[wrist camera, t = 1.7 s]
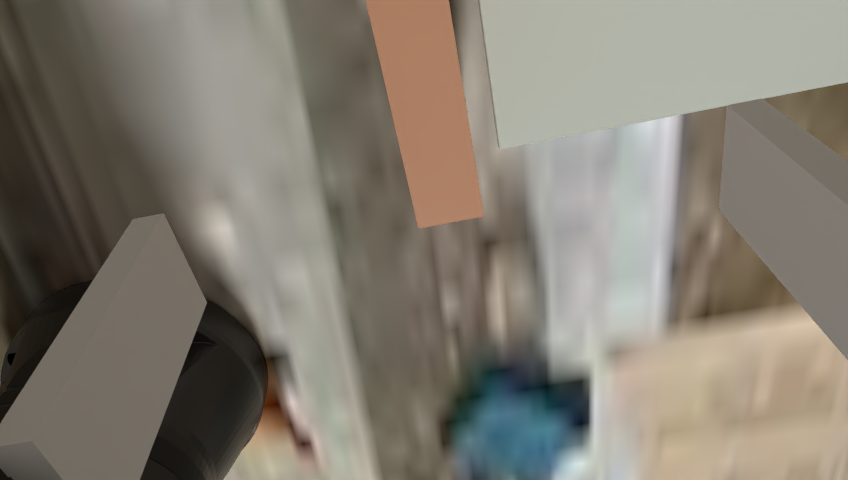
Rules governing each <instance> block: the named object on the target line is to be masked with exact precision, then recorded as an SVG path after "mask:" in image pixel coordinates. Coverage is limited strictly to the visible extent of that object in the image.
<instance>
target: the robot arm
mask: <svg viewBox="0 0 848 480" xmlns="http://www.w3.org/2000/svg"><path fill="white" fill-rule="evenodd" d="M719 210H720V212H721V213H722V214H723V215H724V216H725V217H726V219H727V220H728V221H729V222H730V223H731V224H732V226H733V227H734V228H735V229H736V230H737V231H738V233H739V234H740V235H741V236H742V237H743V238H744V240H745V241H746V242H747V243H748V244H749V245H750V247H751V248H752V249H753V250H754V251H755V252H756V254H757V255H758V256H759V257H760V258H761V259H762V261H763V262H764V263H765V264H766V265H767V266H768V268H769V269H770V270H771V271H772V272H773V273H774V275H775V276H776V277H777V278H778V279H779V280H780V282H781V283H782V284H783V285H784V286H785V287H786V289H787V290H788V291H789V292H790V293H791V294H792V296H793V297H794V298H795V299H796V300H797V301H798V303H799V304H800V305H801V306H802V307H803V308H804V310H805V311H806V312H807V313H808V314H809V315H810V317H811V318H812V319H813V320H814V321H815V322H816V324H817V325H818V326H819V327H820V328H821V329H822V331H823V332H824V333H825V334H826V335H827V336H828V338H829V339H830V340H831V341H832V342H833V343H834V345H835V346H836V347H837V348H838V349H839V350H840V352H841V353H842V354H843V355H844V356H845V357H846V359H847V360H848V161H846V160H845V159H844V158H842V157H841V156H840V155H838V154H837V153H835V152H834V151H833V150H831V149H830V148H829V147H827V146H826V145H825V144H823V143H822V142H820V141H819V140H818V139H816V138H815V137H814V136H812V135H811V134H810V133H808V132H807V131H806V130H804V129H803V128H801V127H800V126H799V125H797V124H796V123H795V122H793V121H792V120H791V119H789V118H788V117H786V116H785V115H784V114H782V113H781V112H780V111H778V110H777V109H776V108H774V107H773V106H771V105H770V104H769V103H767V102H766V101H765V100H763V99H757V100H752V101H746V102H741V103H736V104H731V105H727V112H726V125H725V138H724V151H723V163H722V176H721V189H720V202H719ZM267 387H268V375H267V368H266V364H265V361H264V358H263V356H262V353H261V351H260V349H259V347H258V346H257V344H256V342H255V341H254V339H253V338H252V337H251V335H250V334H249V333H248V332H247V330H246V329H245V328H244V327H243V326H242V325H241V324H240V323H239V322H238V321H237V320H236V319H234V318H233V317H232V316H231V315H230V314H228V313H227V312H226V311H224V310H223V309H221V308H220V307H218V306H217V305H215V304H214V303H212V302H210V301H208V300H207V299H205V297H204V295H203V293H202V291H201V289H200V287H199V285H198V283H197V281H196V279H195V277H194V275H193V273H192V270H191V268H190V266H189V264H188V262H187V260H186V258H185V256H184V254H183V252H182V250H181V248H180V246H179V244H178V242H177V239H176V237H175V235H174V233H173V231H172V229H171V227H170V225H169V223H168V221H167V219H166V217H165V215H164V213H162V214H156V215H151V216H146V217H141V218H136V219H132V221H131V223H130V224H129V226H128V227H127V229H126V230H125V232H124V233H123V235H122V236H121V238H120V240H119V241H118V243H117V244H116V246H115V247H114V249H113V250H112V252H111V253H110V255H109V256H108V258H107V260H106V261H105V263H104V264H103V266H102V267H101V269H100V270H99V272H98V273H97V275H96V277H95V278H94V280H93V281H88V282H83V283H80V284H76V285H73V286H70V287H68V288H65V289H63V290H61V291H59V292H57V293H55V294H53V295H52V296H50V297H49V298H47V299H46V300H44V301H43V302H42V303H41V304H40V305H39V306H38V307H37V308H36V309H35V310H34V311H33V312H32V313H31V315H30V316H29V317H28V319H27V320H26V321H25V323H24V324H23V326H22V327H21V328H20V330H19V331H18V332H17V334H16V335H15V337H14V338H13V340H12V341H11V343H10V345H9V347H8V350H7V352H6V354H5V358H4V361H3V366H2V372H1V386H0V480H223V479H224V478H225V476H226V475H227V473H228V472H229V470H230V468H231V467H232V465H233V464H234V462H235V460H236V459H237V457H238V456H239V454H240V452H241V451H242V450H243V448H244V447H245V446H246V445H247V443H248V442H249V441H250V440H251V438H252V437H253V435H254V433H255V431H256V429H257V427H258V425H259V422H260V419H261V416H262V412H263V407H264V402H265V398H266V393H267Z"/></svg>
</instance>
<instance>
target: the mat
mask: <svg viewBox="0 0 848 480" xmlns="http://www.w3.org/2000/svg"><path fill="white" fill-rule="evenodd" d="M478 1H479V9H480V16H481V23H482V30H483V38H484V45H485V52H486V60H487V67H488V74H489V81H490V89H491V96H492V103H493V110H494V118H495V125H496V132H497V139H498V145H499V148H500V149H505V148H510V147H515V146H520V145H526V144H531V143H536V142H541V141H546V140H551V139H557V138H562V137H567V136H572V135H577V134H582V133H588V132H593V131H598V130H603V129H608V128H613V127H619V126H624V125H629V124H634V123H639V122H644V121H650V120H655V119H660V118H665V117H670V116H676V115H681V114H686V113H691V112H696V111H701V110H707V109H712V108H717V107H722V106H727V105H731V104H736V103H741V102H746V101H752V100H757V99H763V98H769V97H774V96H779V95H784V94H789V93H794V92H800V91H805V90H810V89H815V88H820V87H826V86H831V85H836V84H841V83H846V82H848V0H478Z"/></svg>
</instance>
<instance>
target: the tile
mask: <svg viewBox="0 0 848 480" xmlns="http://www.w3.org/2000/svg"><path fill="white" fill-rule="evenodd" d="M366 4H367V8H368V12H369V17H370V21H371V25H372V29H373V34H374V38H375V42H376V47H377V51H378V55H379V60H380V64H381V68H382V73H383V77H384V81H385V86H386V90H387V94H388V99H389V103H390V107H391V112H392V116H393V120H394V124H395V129H396V133H397V137H398V142H399V146H400V150H401V155H402V159H403V163H404V168H405V172H406V176H407V181H408V185H409V189H410V194H411V198H412V202H413V207H414V211H415V215H416V220H417V224H418V228H424V227H430V226H435V225H440V224H446V223H451V222H456V221H462V220H467V219H472V218H478V217H483V216H484V214H483V208H482V202H481V195H480V189H479V183H478V177H477V171H476V165H475V158H474V152H473V146H472V140H471V134H470V128H469V122H468V115H467V109H466V103H465V97H464V91H463V85H462V78H461V72H460V66H459V60H458V54H457V48H456V41H455V35H454V29H453V23H452V17H451V11H450V4H449V0H366Z"/></svg>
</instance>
